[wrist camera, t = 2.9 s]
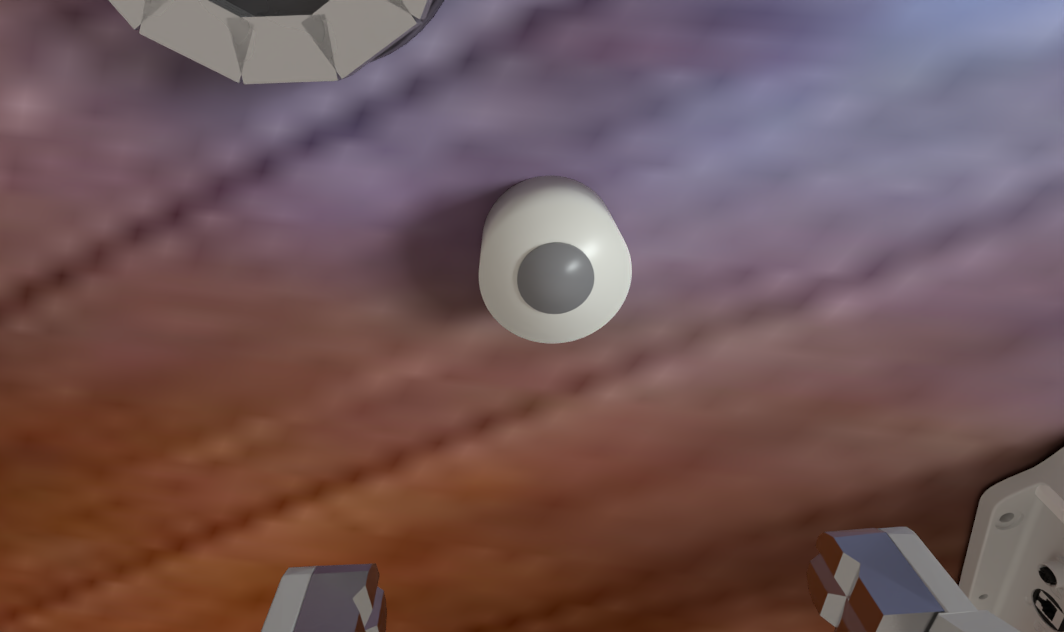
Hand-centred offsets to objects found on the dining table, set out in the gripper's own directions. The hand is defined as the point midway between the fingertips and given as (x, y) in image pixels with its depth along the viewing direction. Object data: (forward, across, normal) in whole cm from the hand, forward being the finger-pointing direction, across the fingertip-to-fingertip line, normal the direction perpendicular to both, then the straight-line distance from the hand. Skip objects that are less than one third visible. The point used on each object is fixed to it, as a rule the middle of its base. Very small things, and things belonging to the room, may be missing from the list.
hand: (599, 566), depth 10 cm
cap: (+17, 0, 0) cm, 17 cm away
